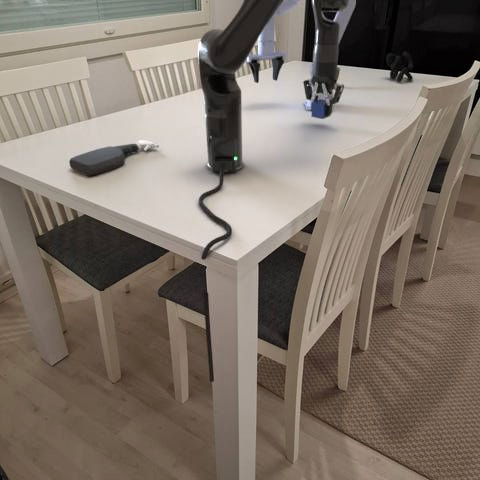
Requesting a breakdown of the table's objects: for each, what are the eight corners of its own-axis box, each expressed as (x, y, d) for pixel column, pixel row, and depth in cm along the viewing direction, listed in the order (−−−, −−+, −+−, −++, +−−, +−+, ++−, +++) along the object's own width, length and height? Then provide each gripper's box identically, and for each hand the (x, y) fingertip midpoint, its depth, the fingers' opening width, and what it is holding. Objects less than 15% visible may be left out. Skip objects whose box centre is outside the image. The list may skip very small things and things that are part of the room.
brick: (330, 115, 146) (331, 101, 143) (322, 119, 143) (324, 104, 140) (319, 113, 148) (320, 99, 145) (311, 116, 145) (312, 102, 142)
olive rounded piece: (318, 88, 189) (319, 68, 185) (323, 85, 195) (325, 65, 190) (335, 90, 186) (337, 70, 182) (340, 86, 192) (342, 67, 187)
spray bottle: (67, 168, 120) (139, 144, 136) (91, 178, 114) (163, 151, 130) (65, 157, 118) (137, 134, 134) (89, 167, 112) (162, 142, 128)
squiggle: (400, 92, 202) (376, 71, 205) (417, 76, 202) (392, 56, 205) (405, 81, 191) (380, 59, 194) (423, 64, 191) (397, 42, 194)
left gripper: (352, 59, 134) (346, 116, 143) (312, 54, 142) (308, 108, 151) (339, 63, 130) (334, 121, 139) (298, 58, 138) (296, 113, 147)
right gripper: (252, 44, 150) (252, 85, 157) (290, 40, 155) (288, 81, 162) (243, 41, 155) (244, 81, 162) (280, 38, 160) (279, 77, 167)
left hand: (320, 114), depth 145 cm, fingers closed on brick, 4 cm apart
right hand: (265, 81), depth 162 cm, fingers open, 7 cm apart
